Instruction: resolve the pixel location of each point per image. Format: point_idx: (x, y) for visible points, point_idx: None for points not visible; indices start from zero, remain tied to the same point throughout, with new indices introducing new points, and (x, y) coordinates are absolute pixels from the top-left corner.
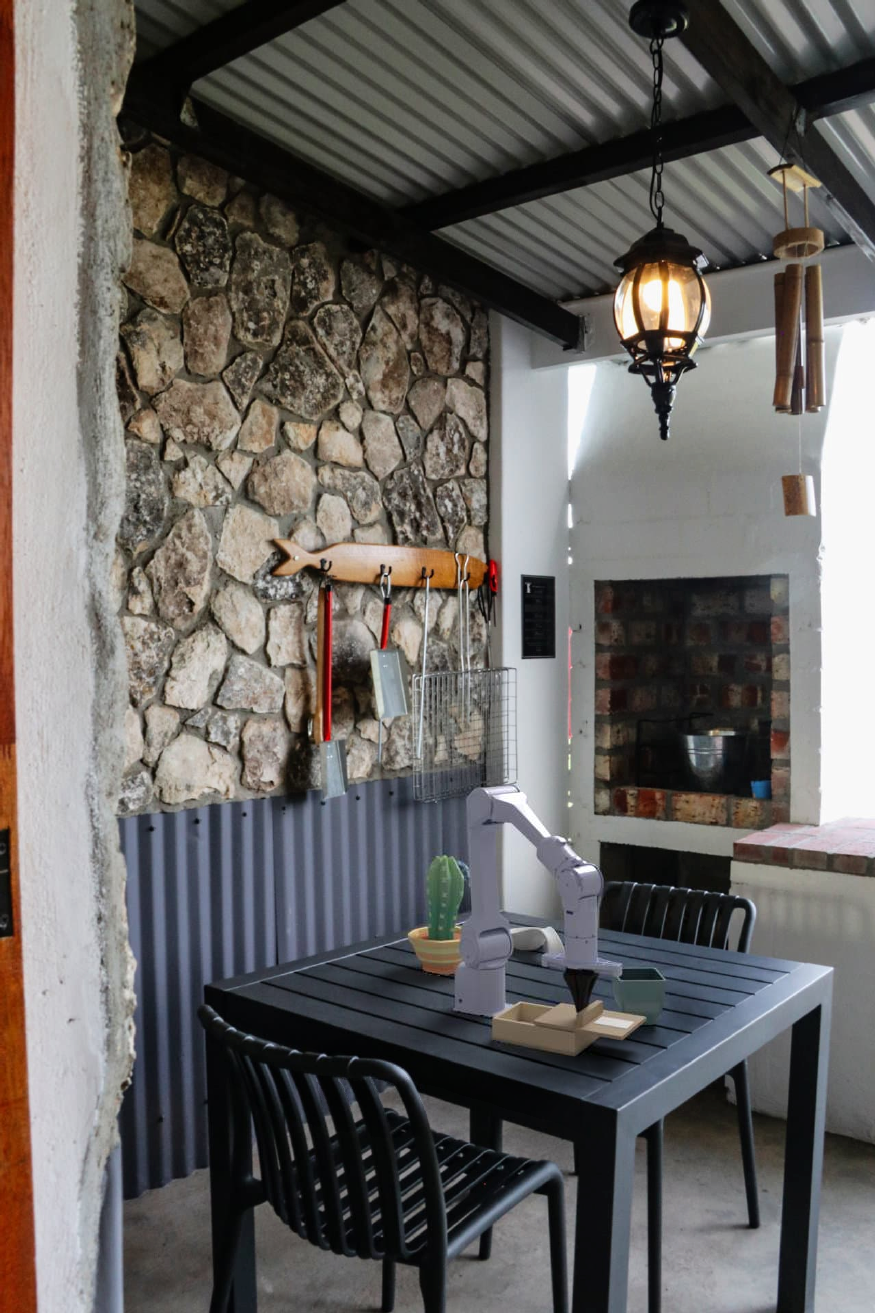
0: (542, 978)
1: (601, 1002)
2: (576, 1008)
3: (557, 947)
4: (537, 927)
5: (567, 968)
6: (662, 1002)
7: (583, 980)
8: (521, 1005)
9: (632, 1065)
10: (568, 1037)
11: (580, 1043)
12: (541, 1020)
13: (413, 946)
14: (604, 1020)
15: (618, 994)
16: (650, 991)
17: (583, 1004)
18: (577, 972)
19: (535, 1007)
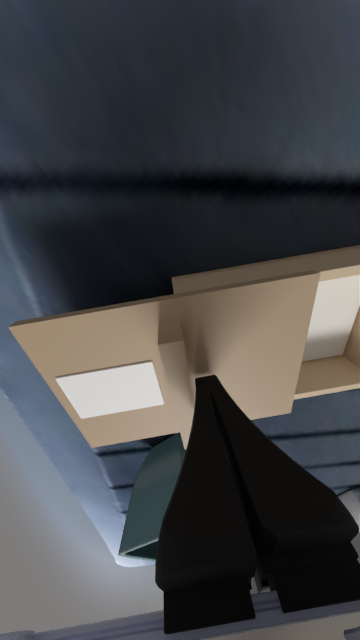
0: (349, 469)
1: (183, 443)
2: (216, 383)
3: (358, 521)
4: None
5: (358, 587)
6: (131, 494)
7: (192, 525)
8: None
9: (46, 311)
10: (192, 288)
11: None
12: (296, 293)
13: None
14: (142, 389)
15: None
16: (143, 513)
17: (195, 401)
18: (272, 574)
19: (338, 382)
